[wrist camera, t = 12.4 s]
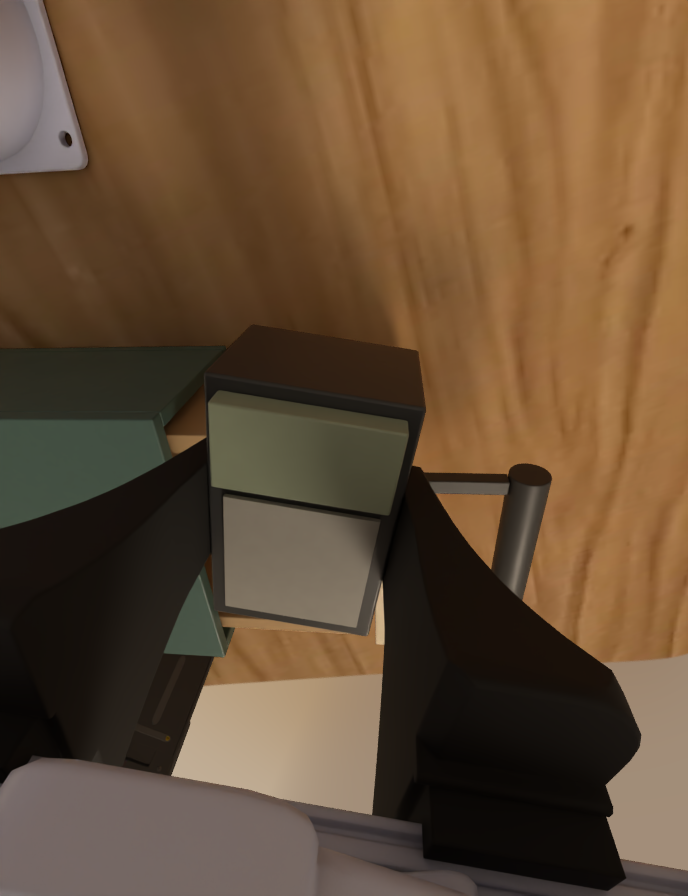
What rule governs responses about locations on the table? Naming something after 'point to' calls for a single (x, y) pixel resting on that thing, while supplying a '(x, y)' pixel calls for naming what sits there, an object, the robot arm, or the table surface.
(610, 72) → the table surface
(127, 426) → the cabinet
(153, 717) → the walkie-talkie
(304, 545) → the dark rectangular block
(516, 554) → the drawer
